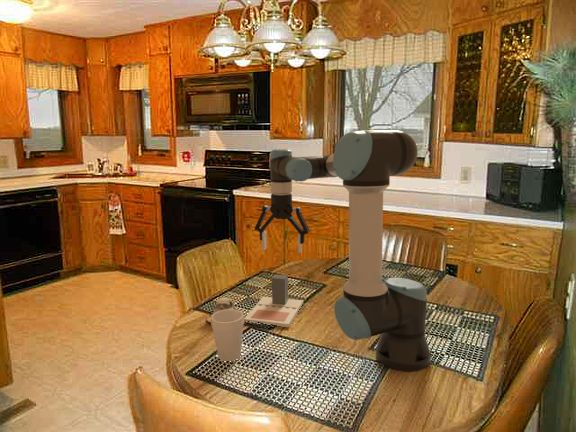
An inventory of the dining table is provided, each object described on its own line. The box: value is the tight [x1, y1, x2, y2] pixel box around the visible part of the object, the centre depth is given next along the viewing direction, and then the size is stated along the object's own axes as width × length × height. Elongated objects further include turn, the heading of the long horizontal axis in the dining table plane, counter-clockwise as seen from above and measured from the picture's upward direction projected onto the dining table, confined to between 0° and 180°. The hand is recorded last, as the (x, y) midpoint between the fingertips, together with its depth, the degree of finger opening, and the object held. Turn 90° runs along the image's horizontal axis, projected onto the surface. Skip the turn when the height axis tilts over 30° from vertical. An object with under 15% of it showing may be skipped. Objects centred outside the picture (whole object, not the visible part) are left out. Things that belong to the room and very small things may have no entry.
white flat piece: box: [244, 303, 300, 328], centre depth 153 cm, size 13×16×2 cm
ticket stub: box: [256, 274, 304, 310], centre depth 162 cm, size 7×16×12 cm, turn 74°
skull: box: [214, 297, 235, 313], centre depth 152 cm, size 12×10×10 cm
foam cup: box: [210, 308, 245, 361], centre depth 126 cm, size 10×9×13 cm
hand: (282, 250), depth 159 cm, fingers open, 13 cm apart
